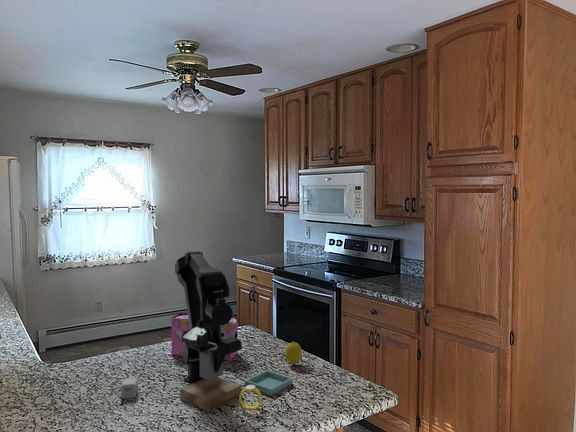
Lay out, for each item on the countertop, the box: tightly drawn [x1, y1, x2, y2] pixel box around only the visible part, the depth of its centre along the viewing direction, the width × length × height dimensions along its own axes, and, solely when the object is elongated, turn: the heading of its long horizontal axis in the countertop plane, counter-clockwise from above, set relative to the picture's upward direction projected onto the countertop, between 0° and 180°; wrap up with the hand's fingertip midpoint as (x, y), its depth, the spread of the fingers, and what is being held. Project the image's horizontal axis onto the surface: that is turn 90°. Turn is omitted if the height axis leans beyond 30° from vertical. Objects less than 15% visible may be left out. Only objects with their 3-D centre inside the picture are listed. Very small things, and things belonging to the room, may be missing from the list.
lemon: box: [284, 341, 303, 366], centre depth 153 cm, size 6×6×8 cm
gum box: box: [170, 312, 239, 361], centre depth 162 cm, size 24×8×14 cm, turn 77°
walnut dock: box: [179, 376, 242, 412], centre depth 128 cm, size 12×12×3 cm
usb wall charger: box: [120, 377, 139, 399], centre depth 131 cm, size 4×7×4 cm, turn 11°
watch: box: [238, 385, 263, 410], centre depth 122 cm, size 6×3×6 cm, turn 85°
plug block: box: [200, 348, 224, 380], centre depth 127 cm, size 4×5×7 cm
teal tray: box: [244, 369, 293, 397], centre depth 136 cm, size 10×10×2 cm
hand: (211, 370), depth 128 cm, fingers closed on plug block, 4 cm apart
